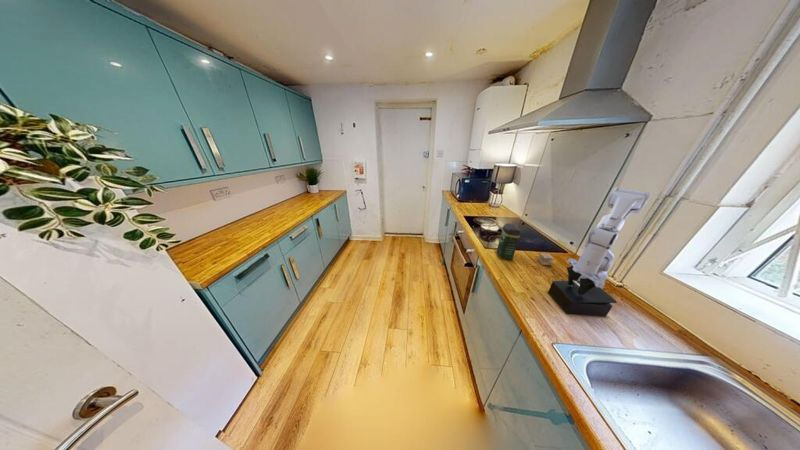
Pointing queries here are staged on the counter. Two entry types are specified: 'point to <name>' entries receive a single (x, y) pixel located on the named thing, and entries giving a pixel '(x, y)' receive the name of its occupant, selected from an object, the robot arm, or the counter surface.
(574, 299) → the caddy lid
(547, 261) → the scrap block
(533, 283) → the counter surface
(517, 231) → the coffee jar
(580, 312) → the block
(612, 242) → the robot arm
